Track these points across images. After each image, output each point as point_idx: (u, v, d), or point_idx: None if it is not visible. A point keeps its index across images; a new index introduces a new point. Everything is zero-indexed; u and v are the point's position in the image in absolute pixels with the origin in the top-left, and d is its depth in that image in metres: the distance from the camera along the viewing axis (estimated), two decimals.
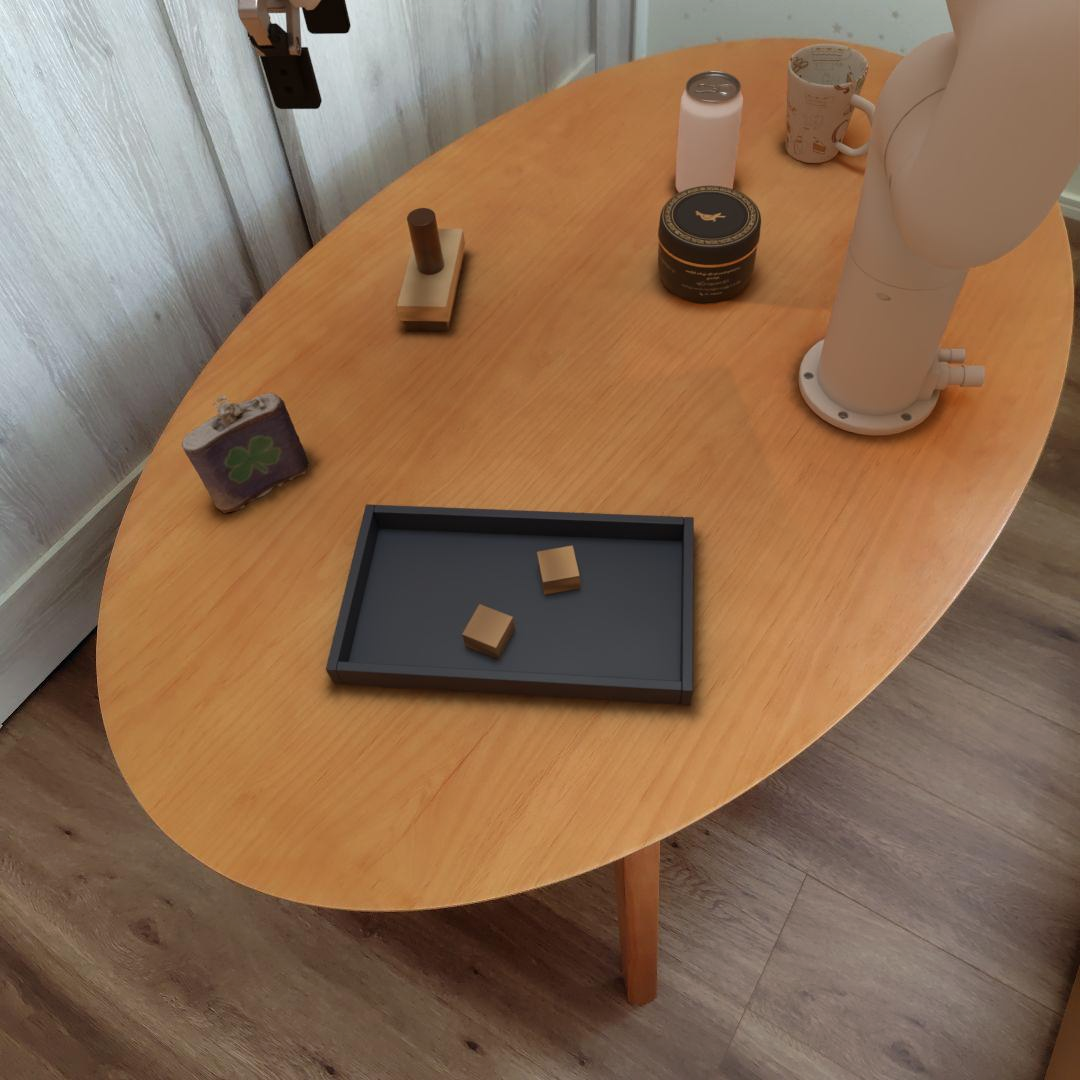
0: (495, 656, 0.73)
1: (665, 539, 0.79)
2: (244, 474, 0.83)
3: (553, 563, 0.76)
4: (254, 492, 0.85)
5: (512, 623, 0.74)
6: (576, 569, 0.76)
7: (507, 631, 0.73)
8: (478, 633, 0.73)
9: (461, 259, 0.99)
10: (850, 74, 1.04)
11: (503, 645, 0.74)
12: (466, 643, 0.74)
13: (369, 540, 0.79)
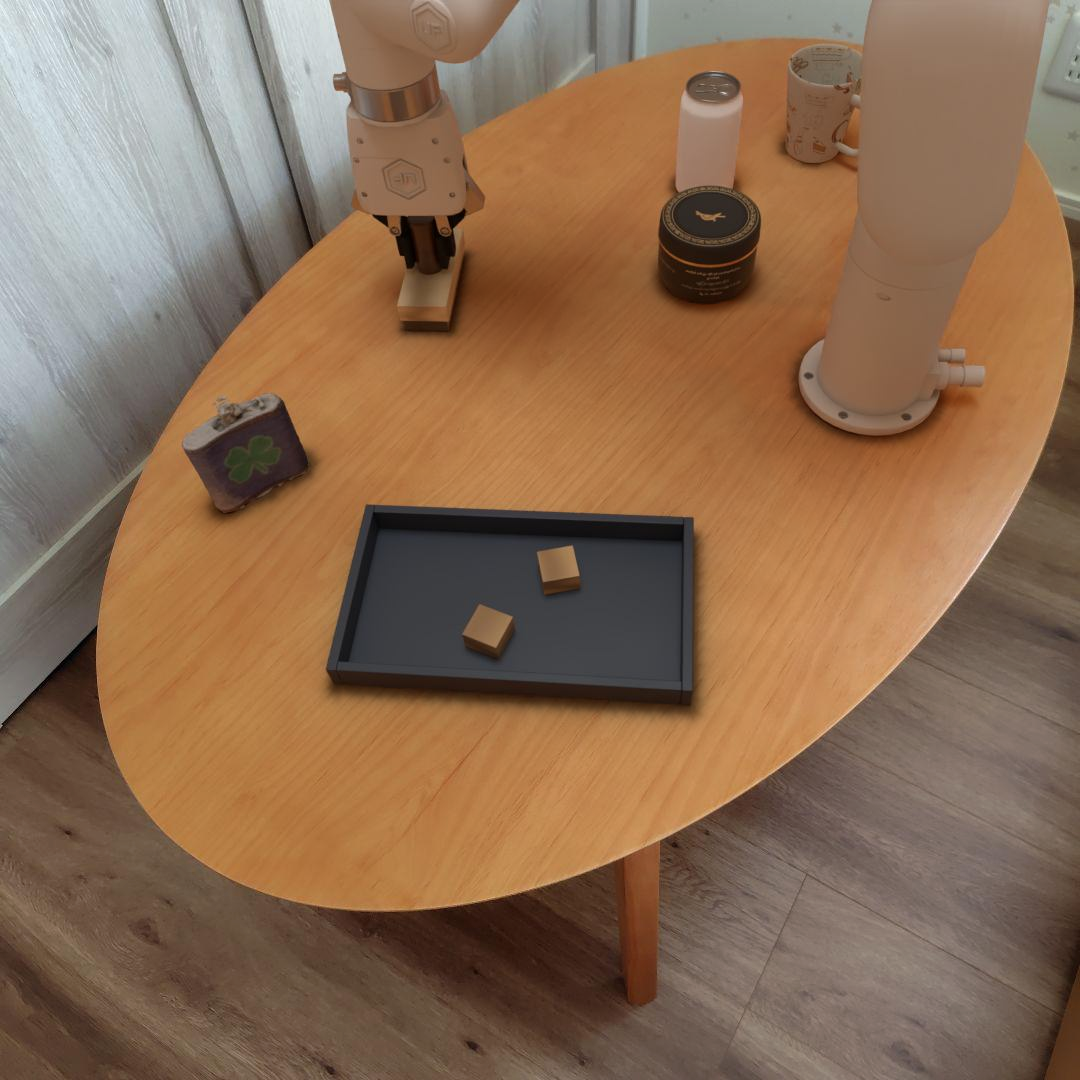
0: (495, 656, 0.73)
1: (665, 539, 0.79)
2: (244, 474, 0.83)
3: (553, 563, 0.76)
4: (254, 492, 0.85)
5: (512, 623, 0.74)
6: (576, 569, 0.76)
7: (507, 631, 0.73)
8: (478, 633, 0.73)
9: (461, 259, 0.99)
10: (850, 74, 1.04)
11: (503, 645, 0.74)
12: (466, 643, 0.74)
13: (369, 540, 0.79)
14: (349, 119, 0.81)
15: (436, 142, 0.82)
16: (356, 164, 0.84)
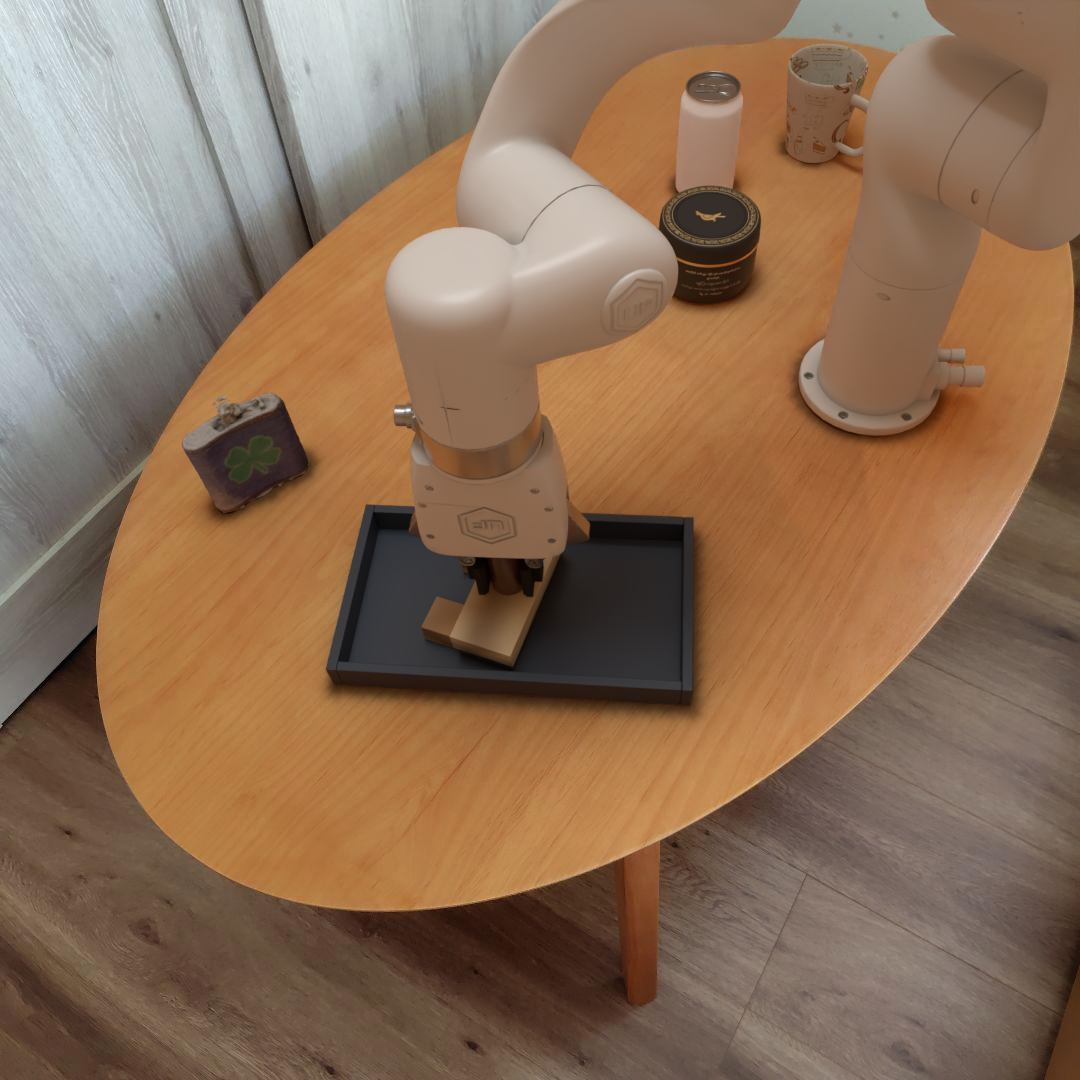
0: None
1: (665, 539, 0.79)
2: (244, 474, 0.83)
3: None
4: (254, 492, 0.85)
5: None
6: None
7: None
8: (437, 625, 0.73)
9: (555, 566, 0.76)
10: (850, 74, 1.04)
11: None
12: (426, 636, 0.75)
13: (369, 540, 0.79)
14: (415, 464, 0.58)
15: (536, 492, 0.59)
16: (422, 508, 0.61)
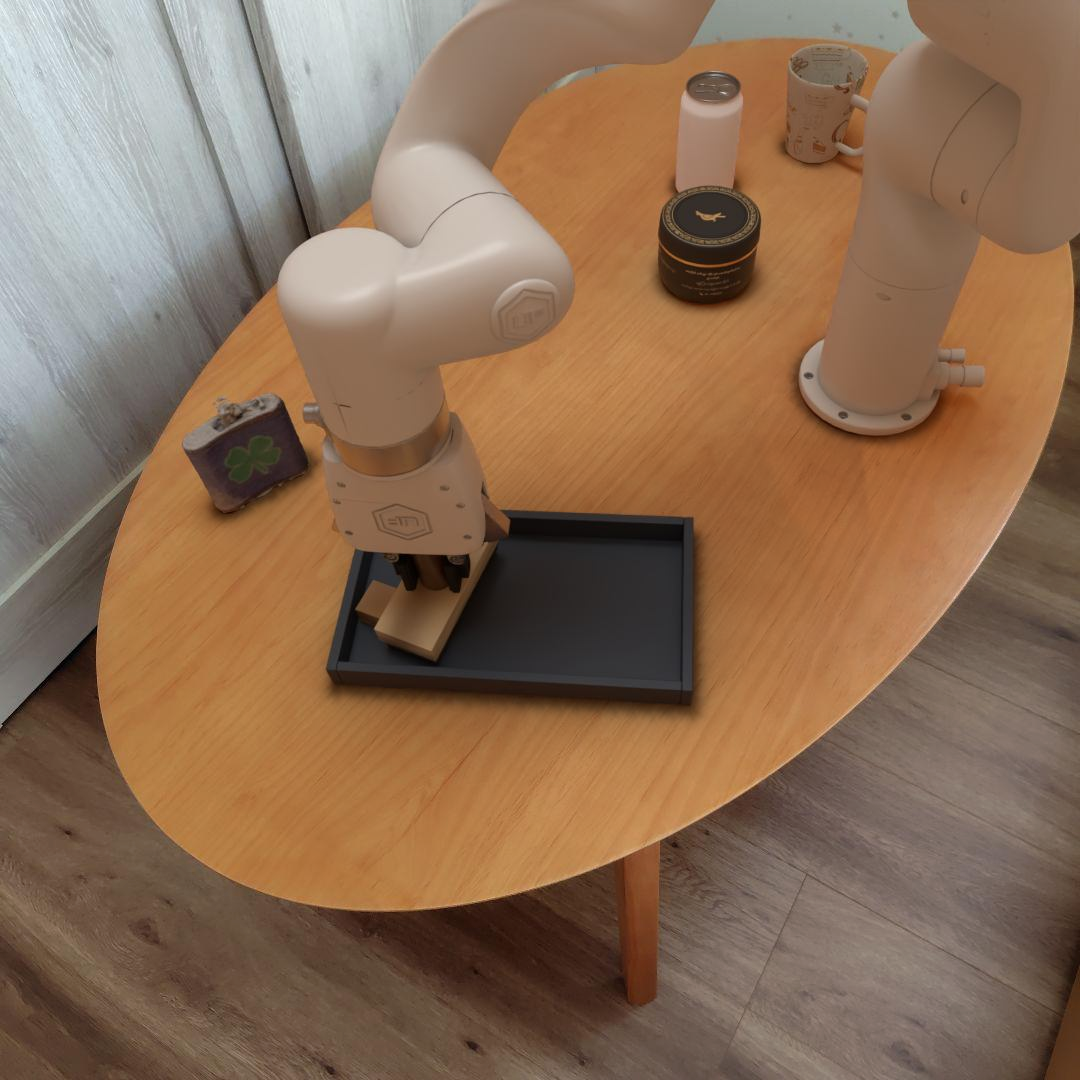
0: None
1: (665, 539, 0.79)
2: (244, 474, 0.83)
3: None
4: (254, 492, 0.85)
5: None
6: None
7: None
8: (371, 608, 0.75)
9: (486, 563, 0.76)
10: (850, 74, 1.04)
11: None
12: (360, 618, 0.76)
13: None
14: (326, 461, 0.59)
15: (446, 489, 0.60)
16: (337, 504, 0.62)
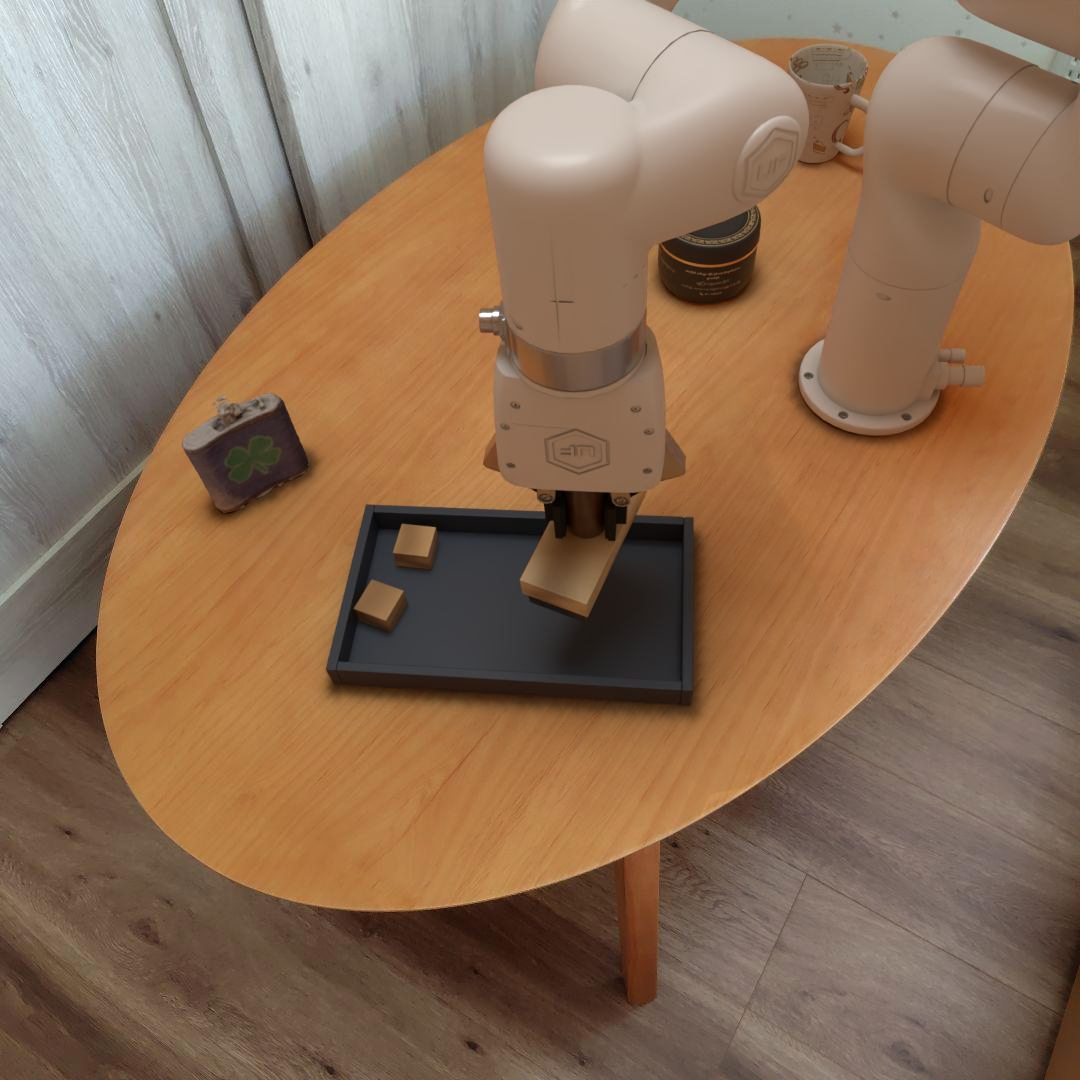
0: (387, 629, 0.75)
1: (665, 539, 0.79)
2: (244, 474, 0.83)
3: (410, 539, 0.78)
4: (254, 492, 0.85)
5: (403, 597, 0.76)
6: (427, 550, 0.78)
7: (399, 604, 0.75)
8: (369, 607, 0.75)
9: (636, 511, 0.69)
10: (850, 74, 1.04)
11: (394, 619, 0.76)
12: (359, 617, 0.76)
13: (369, 540, 0.79)
14: (501, 376, 0.51)
15: (637, 410, 0.52)
16: (504, 430, 0.55)
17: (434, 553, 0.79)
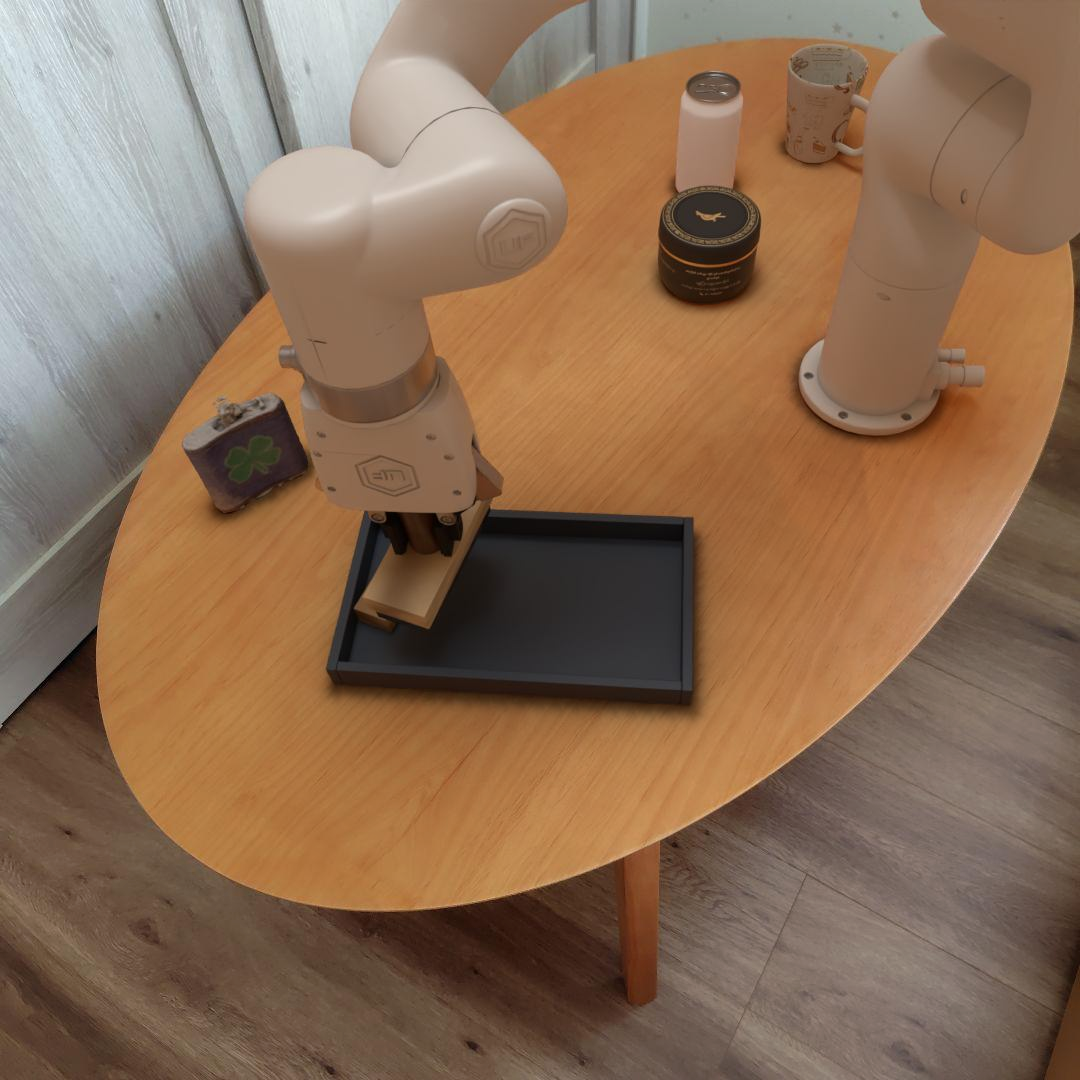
0: (387, 629, 0.75)
1: (665, 539, 0.79)
2: (244, 474, 0.83)
3: None
4: (254, 492, 0.85)
5: None
6: None
7: None
8: None
9: (479, 525, 0.72)
10: (850, 74, 1.04)
11: None
12: (359, 617, 0.76)
13: (369, 540, 0.79)
14: (304, 408, 0.55)
15: (433, 438, 0.56)
16: (317, 457, 0.58)
17: None
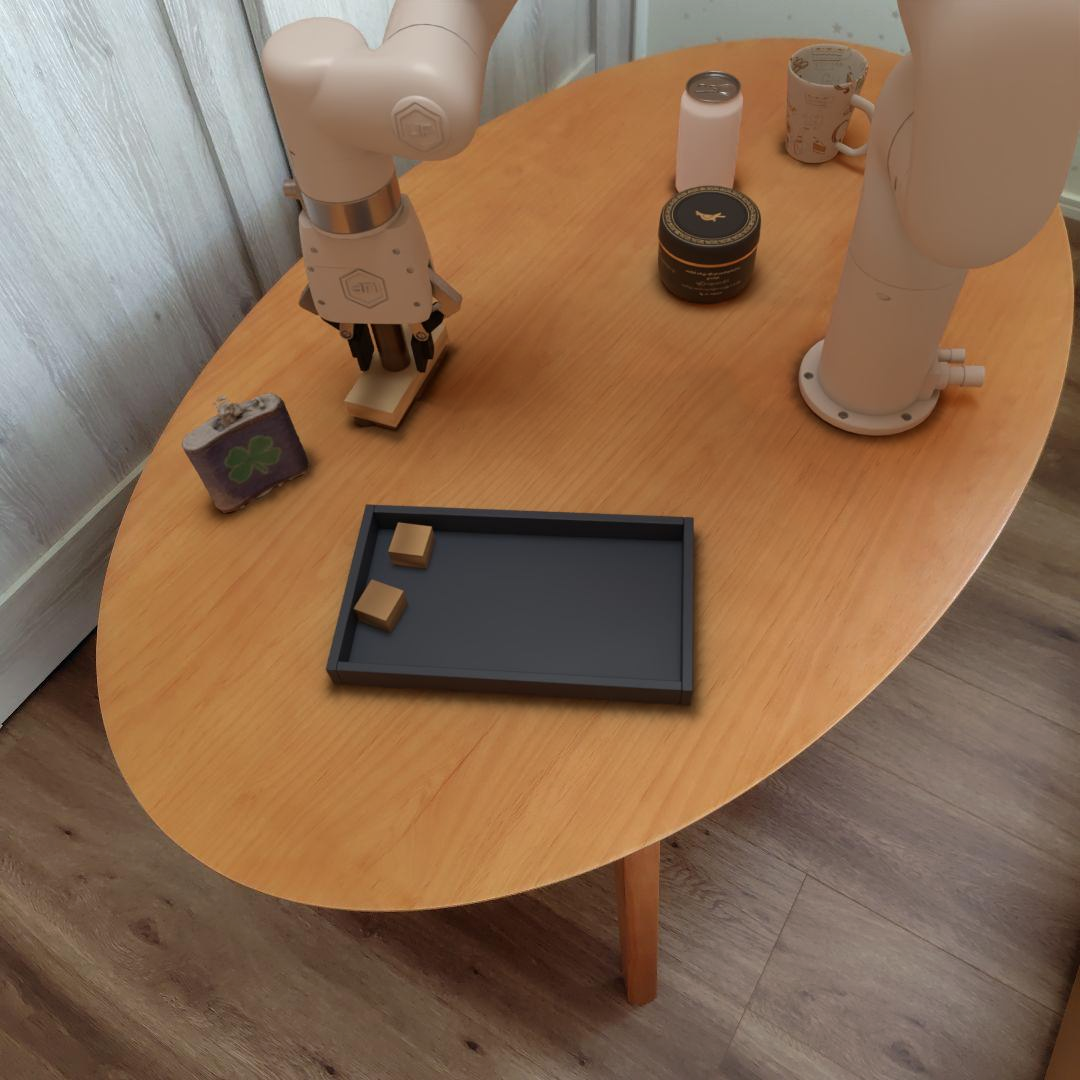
0: (387, 629, 0.75)
1: (665, 539, 0.79)
2: (244, 474, 0.83)
3: (405, 537, 0.78)
4: (254, 492, 0.85)
5: (403, 597, 0.76)
6: (423, 549, 0.78)
7: (399, 604, 0.75)
8: (369, 607, 0.75)
9: (437, 357, 0.92)
10: (850, 74, 1.04)
11: (394, 619, 0.76)
12: (359, 617, 0.76)
13: (369, 540, 0.79)
14: (301, 228, 0.74)
15: (397, 252, 0.75)
16: (311, 272, 0.77)
17: (430, 552, 0.79)
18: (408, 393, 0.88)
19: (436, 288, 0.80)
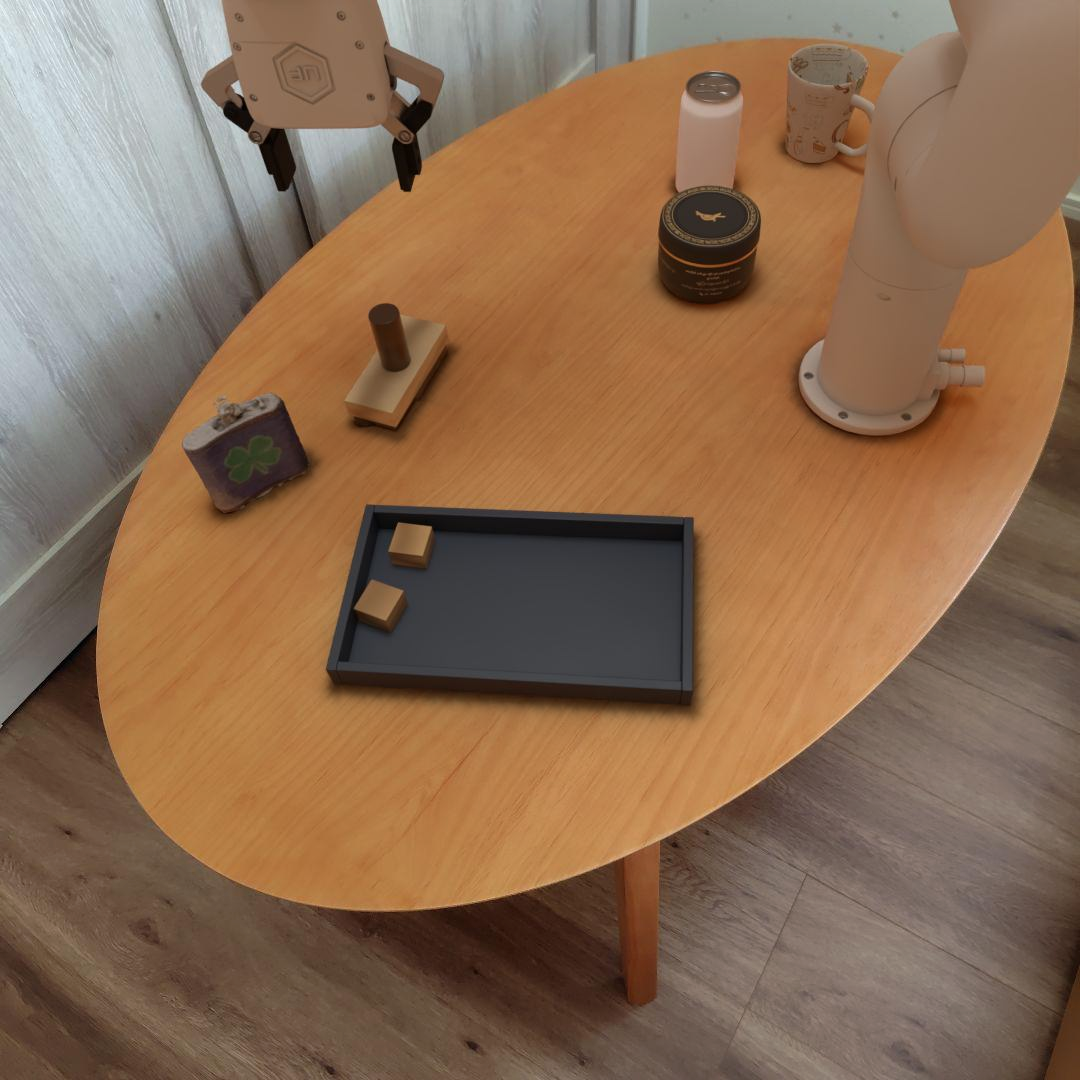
0: (387, 629, 0.75)
1: (665, 539, 0.79)
2: (244, 474, 0.83)
3: (405, 537, 0.78)
4: (254, 492, 0.85)
5: (403, 597, 0.76)
6: (423, 549, 0.78)
7: (399, 604, 0.75)
8: (369, 607, 0.75)
9: (437, 357, 0.92)
10: (850, 74, 1.04)
11: (394, 619, 0.76)
12: (359, 617, 0.76)
13: (369, 540, 0.79)
14: None
15: (343, 18, 0.60)
16: (238, 52, 0.62)
17: (430, 552, 0.79)
18: (408, 393, 0.88)
19: (402, 66, 0.64)
